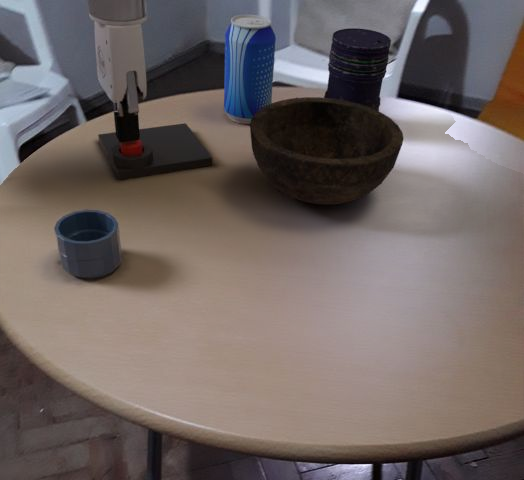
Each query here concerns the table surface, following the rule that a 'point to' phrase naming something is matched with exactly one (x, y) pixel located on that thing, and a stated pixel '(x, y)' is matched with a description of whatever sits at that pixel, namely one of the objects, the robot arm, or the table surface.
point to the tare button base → (157, 152)
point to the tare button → (131, 148)
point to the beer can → (248, 66)
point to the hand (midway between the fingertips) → (128, 138)
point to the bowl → (324, 148)
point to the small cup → (88, 243)
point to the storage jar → (357, 66)
